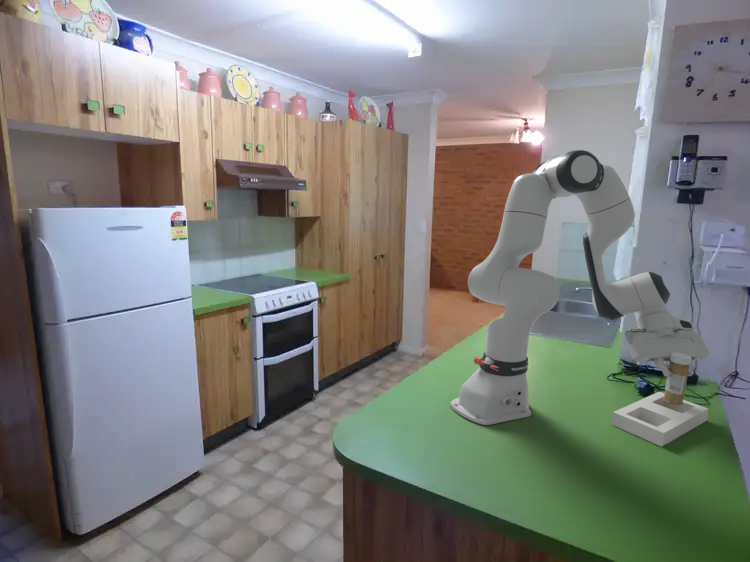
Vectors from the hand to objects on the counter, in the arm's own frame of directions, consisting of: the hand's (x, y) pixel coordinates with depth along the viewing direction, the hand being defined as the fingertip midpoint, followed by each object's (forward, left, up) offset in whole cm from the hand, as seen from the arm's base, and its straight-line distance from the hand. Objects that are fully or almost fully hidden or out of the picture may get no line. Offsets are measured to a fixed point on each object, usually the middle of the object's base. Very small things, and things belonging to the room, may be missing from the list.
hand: (679, 375), depth 115 cm
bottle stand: (-6, 0, -12) cm, 13 cm away
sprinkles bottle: (0, +1, -8) cm, 8 cm away
